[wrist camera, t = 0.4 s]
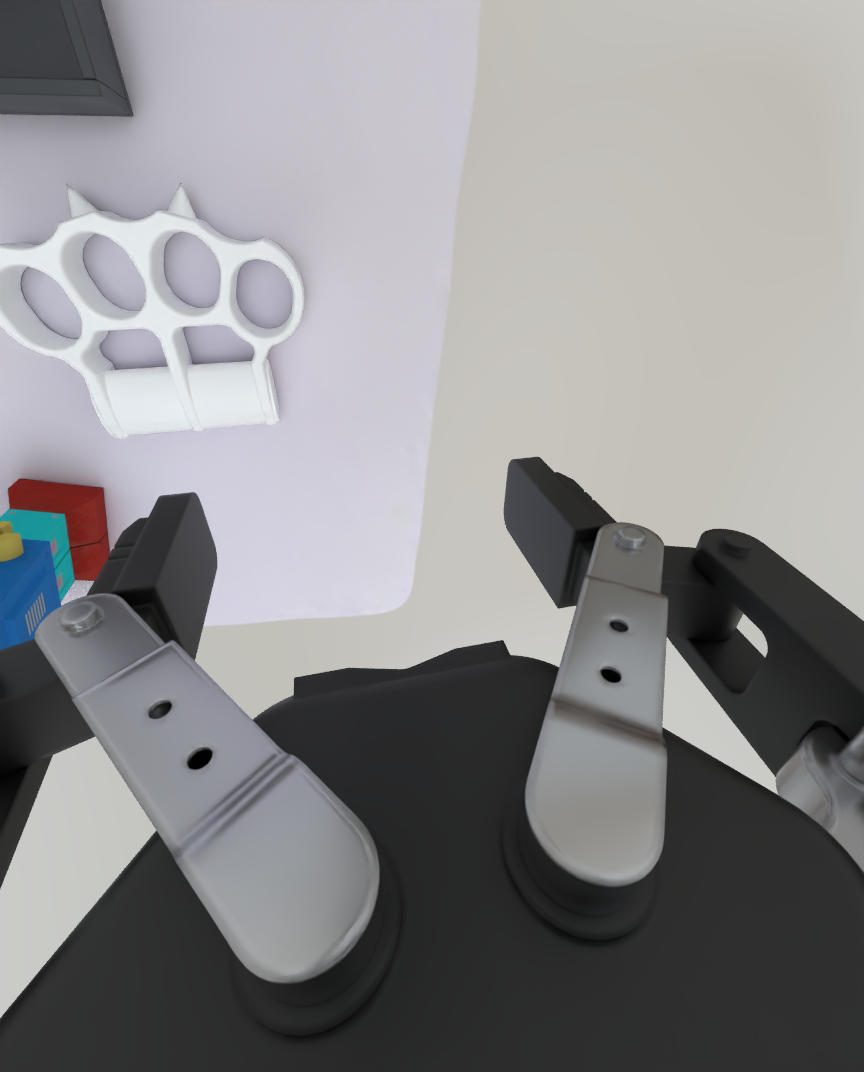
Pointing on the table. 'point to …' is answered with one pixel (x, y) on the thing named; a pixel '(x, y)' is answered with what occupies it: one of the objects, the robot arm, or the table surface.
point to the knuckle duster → (151, 322)
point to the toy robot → (46, 551)
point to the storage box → (59, 60)
